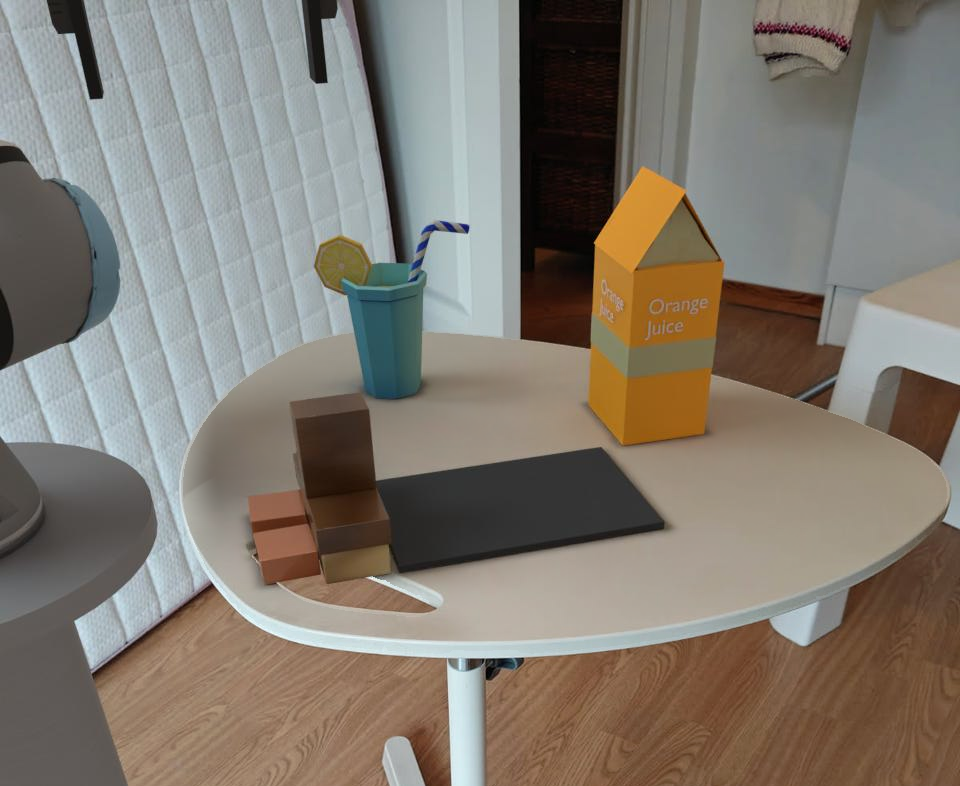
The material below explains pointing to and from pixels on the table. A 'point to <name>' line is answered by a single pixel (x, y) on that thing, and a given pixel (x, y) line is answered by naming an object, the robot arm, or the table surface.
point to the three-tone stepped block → (341, 486)
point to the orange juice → (653, 315)
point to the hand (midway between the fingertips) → (210, 88)
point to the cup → (382, 309)
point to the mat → (511, 508)
